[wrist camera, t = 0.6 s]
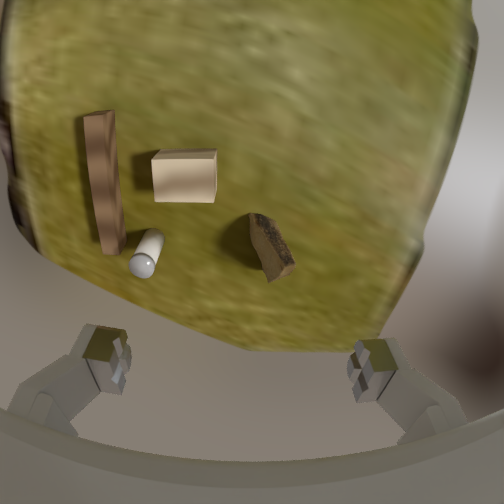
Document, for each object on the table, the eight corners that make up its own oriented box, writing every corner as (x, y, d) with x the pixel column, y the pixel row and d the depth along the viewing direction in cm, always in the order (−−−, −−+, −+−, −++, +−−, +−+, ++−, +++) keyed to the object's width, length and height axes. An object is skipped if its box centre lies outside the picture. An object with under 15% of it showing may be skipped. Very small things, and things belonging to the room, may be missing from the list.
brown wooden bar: (96, 111, 35) (83, 116, 32) (114, 109, 36) (102, 114, 32) (111, 240, 48) (103, 253, 45) (127, 241, 48) (119, 255, 45)
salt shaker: (142, 227, 47) (127, 256, 40) (164, 228, 47) (152, 257, 40) (144, 246, 49) (131, 276, 42) (166, 248, 49) (155, 278, 42)
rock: (289, 286, 51) (318, 245, 45) (261, 312, 45) (290, 269, 39) (243, 246, 54) (265, 202, 48) (211, 265, 48) (230, 218, 42)
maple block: (161, 148, 40) (151, 159, 36) (217, 148, 40) (213, 159, 36) (163, 187, 43) (155, 201, 39) (217, 187, 43) (213, 202, 39)
